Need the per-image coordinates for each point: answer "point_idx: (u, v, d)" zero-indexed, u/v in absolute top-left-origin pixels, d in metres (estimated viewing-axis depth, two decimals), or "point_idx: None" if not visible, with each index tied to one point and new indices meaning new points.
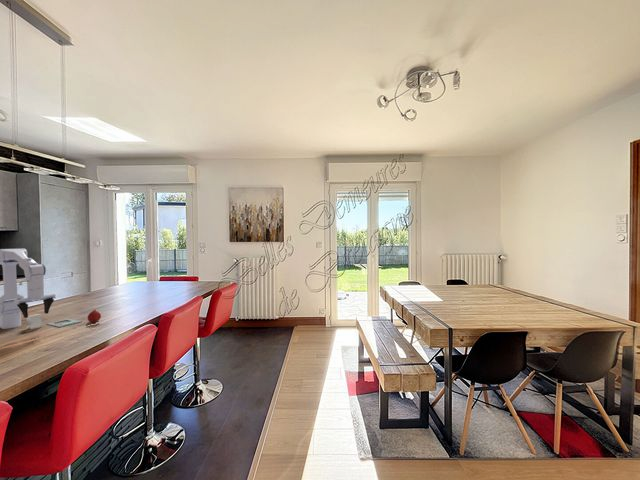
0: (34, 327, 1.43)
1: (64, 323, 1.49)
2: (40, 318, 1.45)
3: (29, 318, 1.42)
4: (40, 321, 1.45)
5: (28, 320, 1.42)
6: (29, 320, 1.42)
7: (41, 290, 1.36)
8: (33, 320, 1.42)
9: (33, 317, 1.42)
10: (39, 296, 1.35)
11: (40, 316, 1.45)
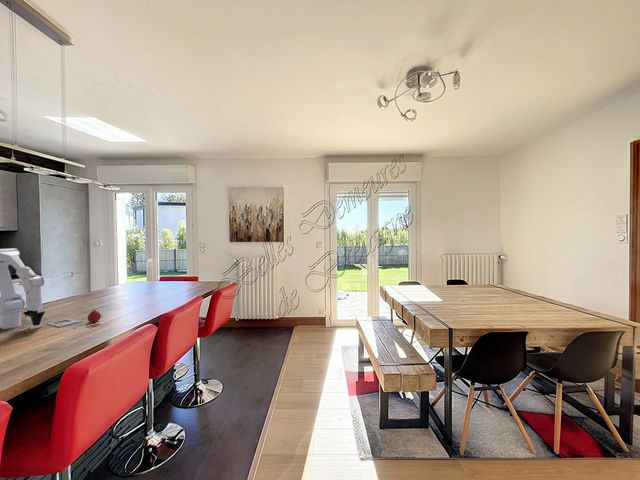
0: (34, 327, 1.43)
1: (64, 323, 1.49)
2: None
3: (29, 318, 1.42)
4: None
5: (28, 320, 1.42)
6: (29, 320, 1.42)
7: (28, 302, 1.41)
8: None
9: None
10: (26, 307, 1.41)
11: None
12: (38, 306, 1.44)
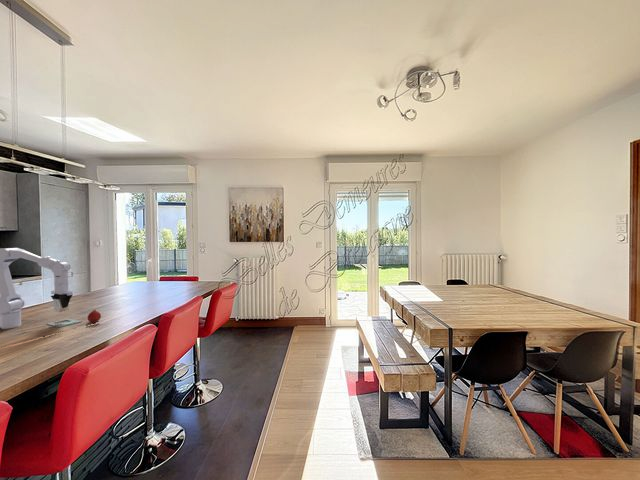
0: (62, 310, 1.51)
1: (64, 323, 1.49)
2: None
3: (57, 301, 1.50)
4: None
5: (56, 303, 1.50)
6: (57, 303, 1.50)
7: (57, 286, 1.50)
8: None
9: None
10: (55, 291, 1.50)
11: None
12: (66, 290, 1.52)
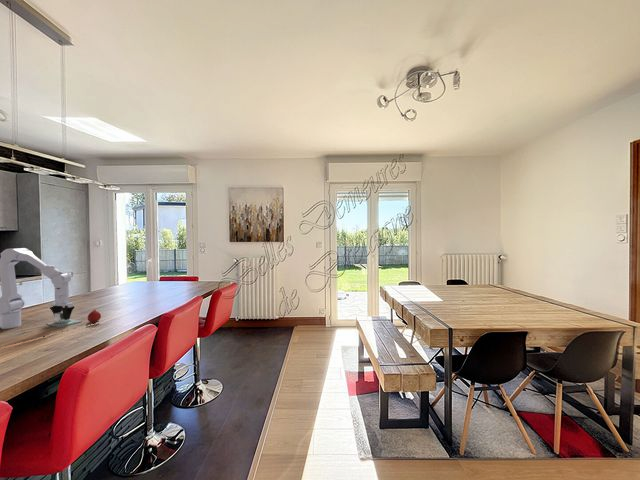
0: None
1: (64, 323, 1.49)
2: None
3: (58, 315, 1.50)
4: None
5: (57, 317, 1.50)
6: (58, 317, 1.50)
7: (57, 298, 1.50)
8: (62, 317, 1.51)
9: (62, 314, 1.51)
10: (56, 303, 1.50)
11: None
12: (66, 301, 1.53)
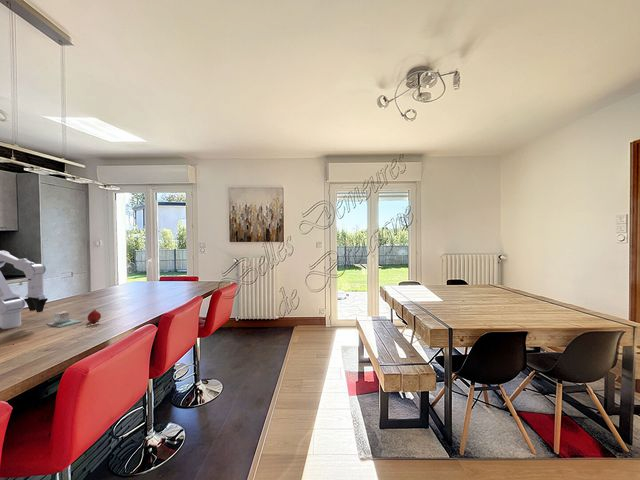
0: None
1: (64, 323, 1.49)
2: (67, 315, 1.53)
3: (58, 315, 1.50)
4: (68, 318, 1.53)
5: (57, 317, 1.50)
6: (58, 317, 1.50)
7: (30, 289, 1.43)
8: (62, 317, 1.51)
9: (62, 314, 1.51)
10: (28, 294, 1.44)
11: (68, 313, 1.53)
12: (40, 293, 1.46)
